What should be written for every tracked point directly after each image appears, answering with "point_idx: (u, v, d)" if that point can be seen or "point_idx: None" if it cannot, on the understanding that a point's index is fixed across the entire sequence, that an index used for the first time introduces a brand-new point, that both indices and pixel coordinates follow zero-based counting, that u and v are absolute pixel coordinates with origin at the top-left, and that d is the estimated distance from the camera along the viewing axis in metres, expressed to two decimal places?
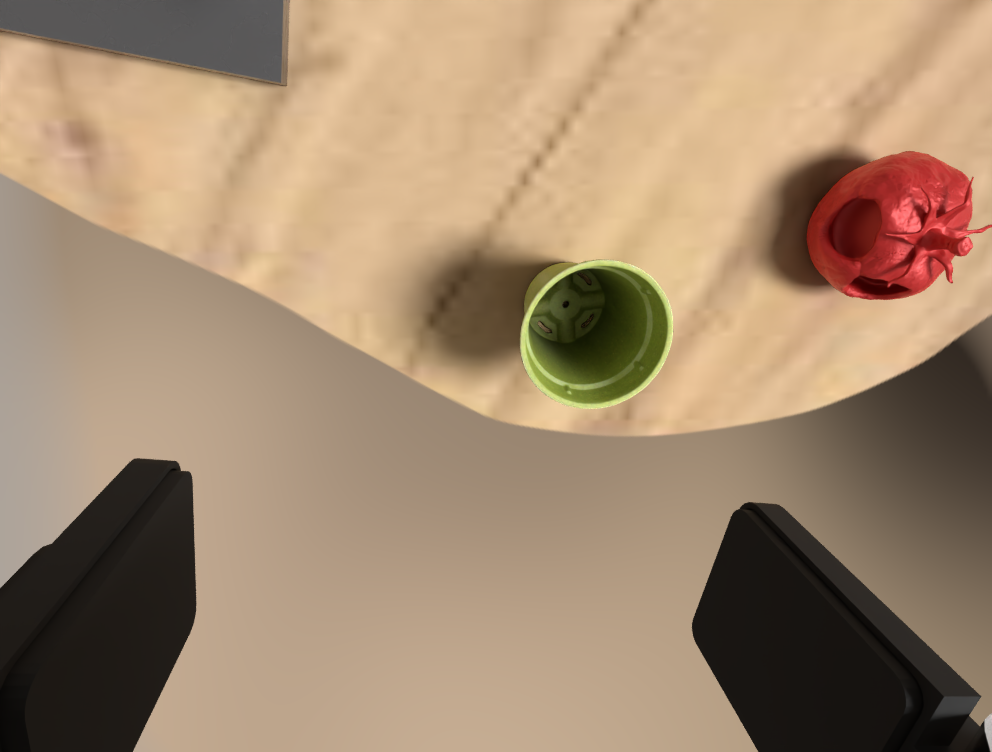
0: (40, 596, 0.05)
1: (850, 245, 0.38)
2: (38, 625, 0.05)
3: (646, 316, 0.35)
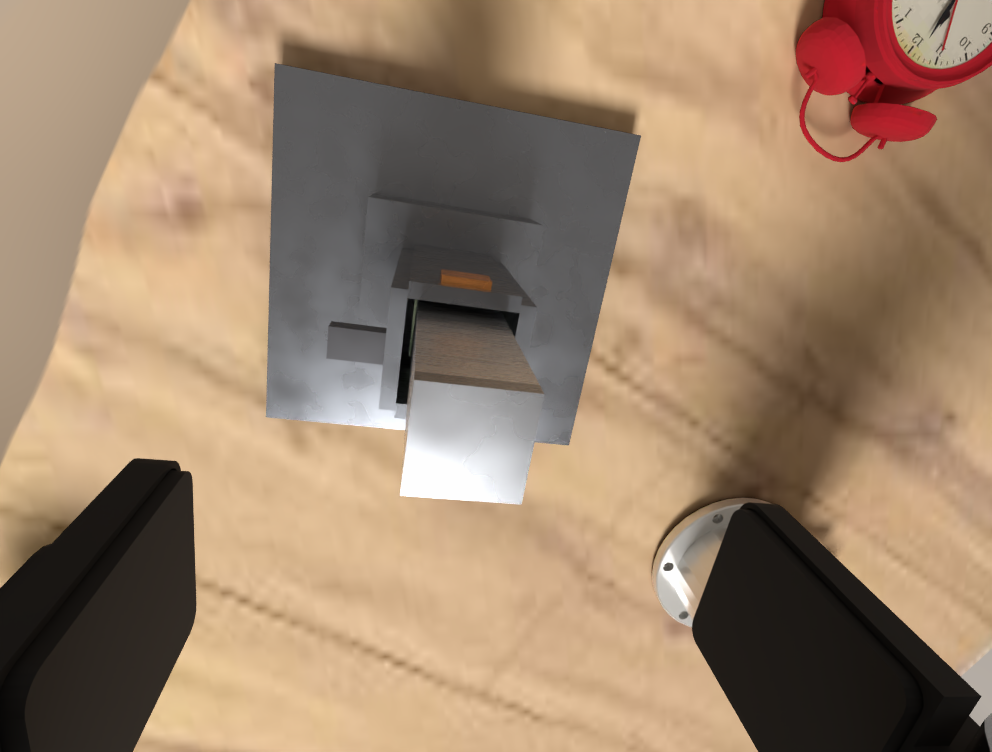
0: (40, 596, 0.05)
1: None
2: (38, 626, 0.05)
3: None
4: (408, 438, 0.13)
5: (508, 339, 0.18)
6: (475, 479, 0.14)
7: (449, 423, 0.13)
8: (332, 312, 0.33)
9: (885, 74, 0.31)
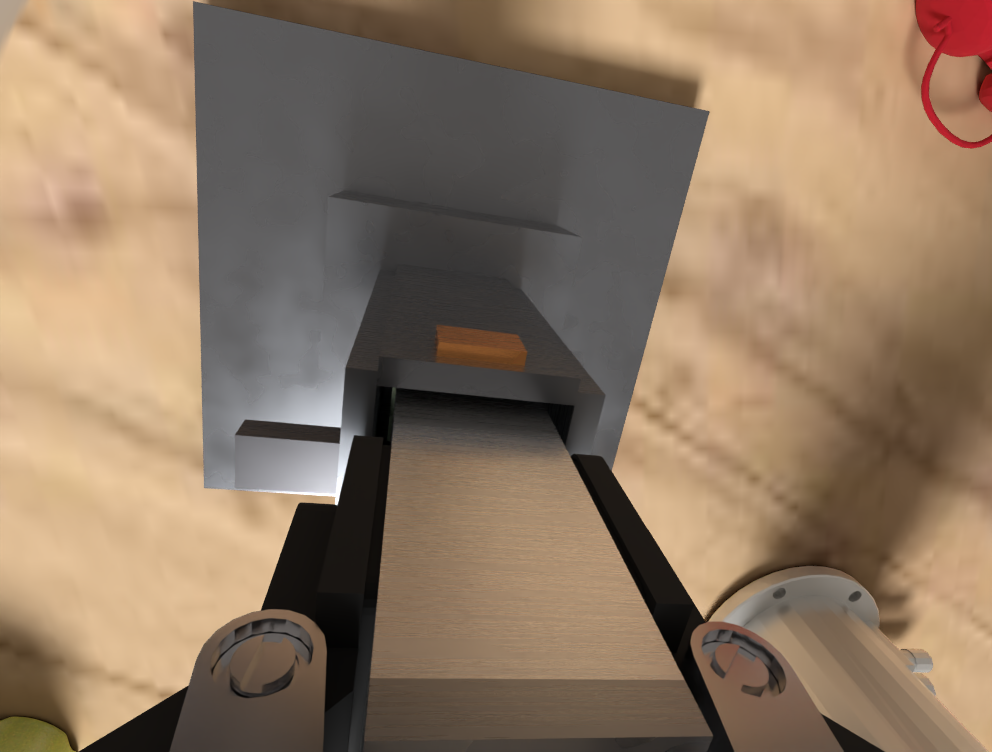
0: (357, 531, 0.07)
1: None
2: (369, 550, 0.07)
3: None
4: None
5: (566, 477, 0.09)
6: None
7: None
8: (288, 351, 0.24)
9: None
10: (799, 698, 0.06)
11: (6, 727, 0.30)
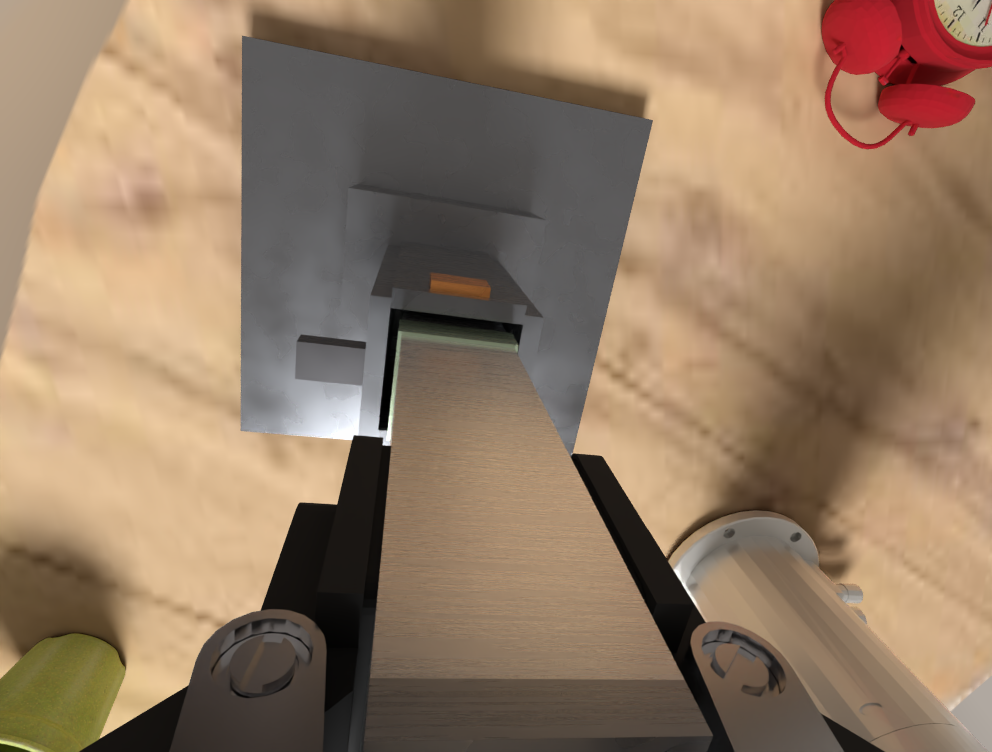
0: (357, 531, 0.07)
1: None
2: (369, 550, 0.07)
3: None
4: None
5: (566, 477, 0.09)
6: None
7: None
8: (311, 315, 0.30)
9: (921, 51, 0.28)
10: (799, 698, 0.06)
11: (68, 641, 0.36)
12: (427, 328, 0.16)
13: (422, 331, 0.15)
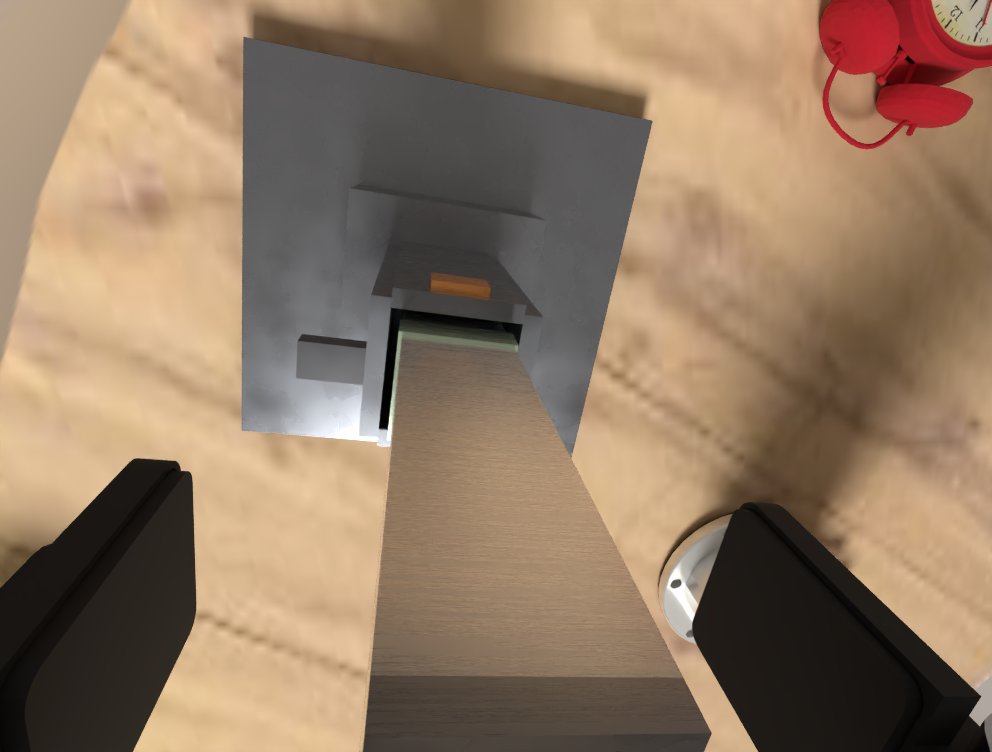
0: (40, 596, 0.05)
1: None
2: (37, 625, 0.05)
3: None
4: None
5: (566, 476, 0.09)
6: None
7: None
8: (312, 315, 0.30)
9: (919, 51, 0.28)
10: None
11: None
12: (427, 328, 0.16)
13: (422, 331, 0.15)
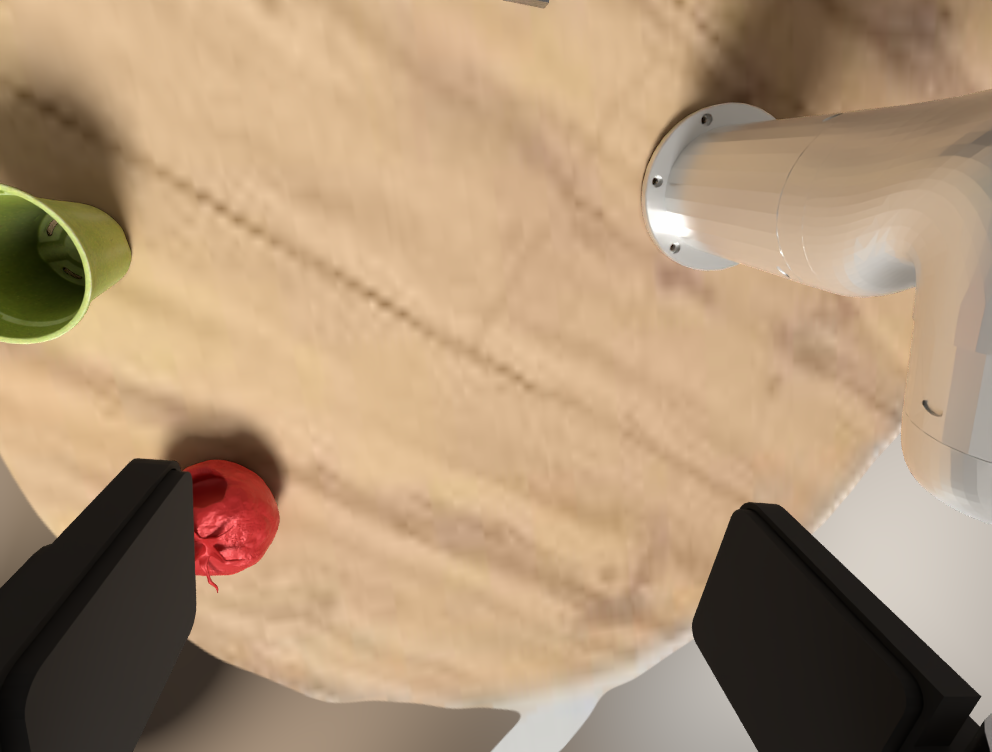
0: (40, 596, 0.05)
1: (194, 495, 0.44)
2: (38, 625, 0.05)
3: (56, 319, 0.35)
4: None
5: None
6: None
7: None
8: None
9: None
10: None
11: None
12: None
13: None
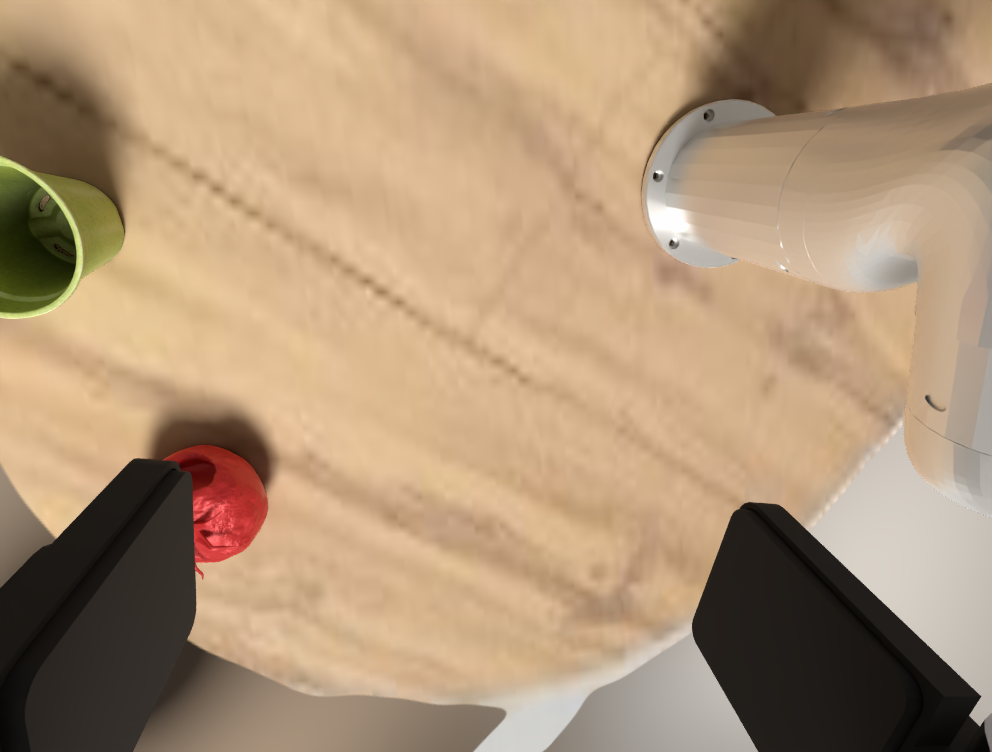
0: (40, 596, 0.05)
1: None
2: (38, 626, 0.05)
3: (45, 295, 0.34)
4: None
5: None
6: None
7: None
8: None
9: None
10: None
11: (69, 178, 0.37)
12: None
13: None
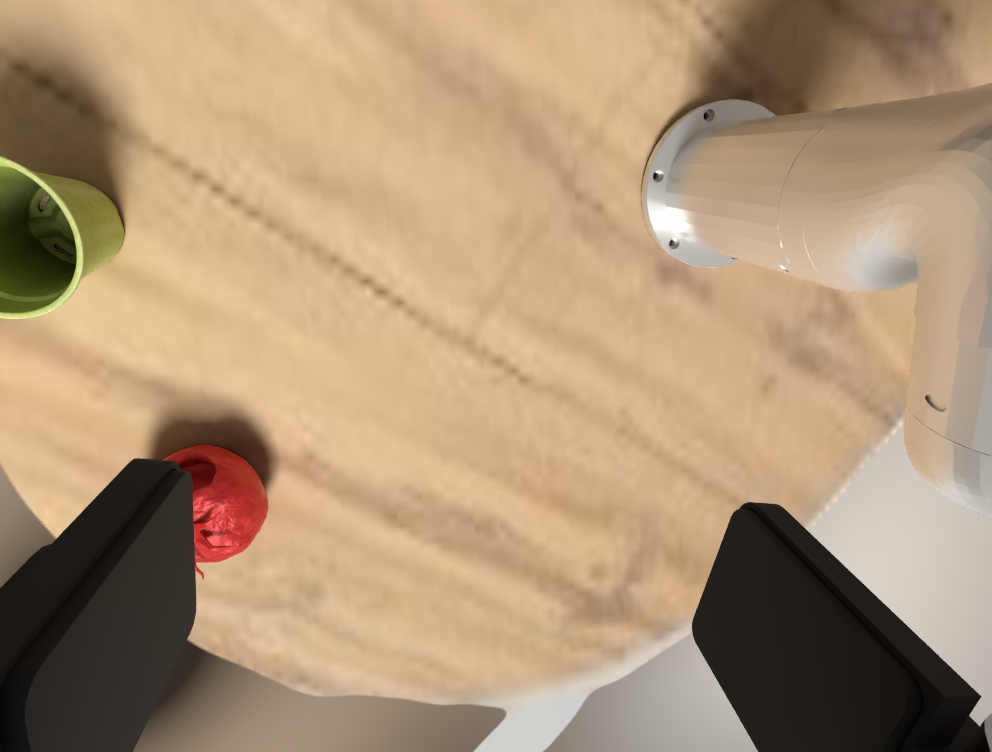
0: (40, 596, 0.05)
1: None
2: (38, 626, 0.05)
3: (45, 295, 0.34)
4: None
5: None
6: None
7: None
8: None
9: None
10: None
11: (69, 178, 0.37)
12: None
13: None
